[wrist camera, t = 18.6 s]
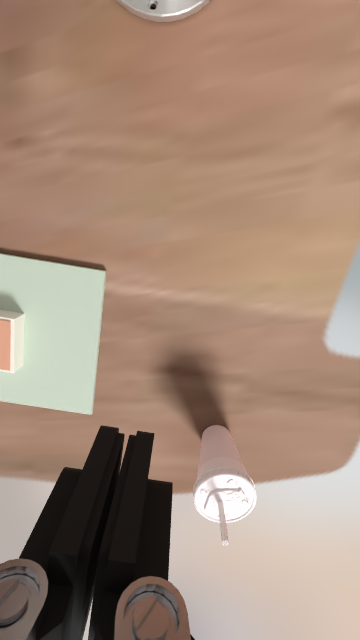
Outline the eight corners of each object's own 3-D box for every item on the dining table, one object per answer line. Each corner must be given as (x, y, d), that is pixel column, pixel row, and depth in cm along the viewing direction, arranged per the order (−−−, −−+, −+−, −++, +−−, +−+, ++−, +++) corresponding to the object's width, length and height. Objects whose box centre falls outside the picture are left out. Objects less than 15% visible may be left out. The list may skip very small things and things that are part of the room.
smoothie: (181, 429, 41) (180, 530, 28) (225, 407, 40) (246, 500, 27) (207, 465, 43) (217, 576, 29) (250, 444, 42) (280, 550, 28)
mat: (-79, 240, 35) (-84, 240, 34) (106, 270, 35) (104, 271, 35) (-69, 387, 40) (-72, 390, 39) (92, 412, 41) (91, 414, 40)
